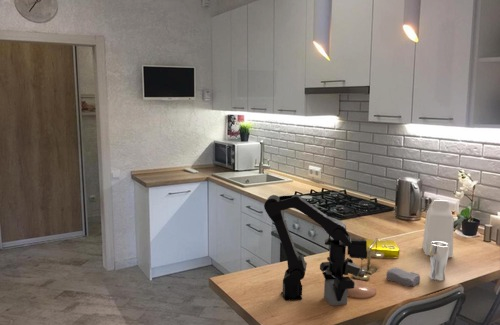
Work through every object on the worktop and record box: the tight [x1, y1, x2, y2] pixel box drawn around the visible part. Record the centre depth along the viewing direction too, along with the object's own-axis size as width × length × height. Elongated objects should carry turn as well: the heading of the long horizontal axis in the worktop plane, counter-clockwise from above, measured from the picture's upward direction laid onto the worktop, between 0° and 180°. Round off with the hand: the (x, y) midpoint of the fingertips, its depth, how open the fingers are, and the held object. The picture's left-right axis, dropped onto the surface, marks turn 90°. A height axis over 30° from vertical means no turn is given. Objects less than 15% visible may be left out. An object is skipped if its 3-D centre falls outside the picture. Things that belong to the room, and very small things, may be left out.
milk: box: [422, 199, 454, 258], centre depth 211 cm, size 12×12×26 cm
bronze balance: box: [351, 238, 384, 281], centre depth 188 cm, size 25×7×12 cm, turn 145°
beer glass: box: [428, 241, 449, 282], centre depth 181 cm, size 7×7×15 cm
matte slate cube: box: [323, 279, 348, 306], centre depth 160 cm, size 6×6×7 cm
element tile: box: [365, 238, 401, 258], centre depth 212 cm, size 15×15×5 cm
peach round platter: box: [347, 279, 377, 299], centre depth 170 cm, size 14×14×1 cm
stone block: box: [386, 267, 421, 288], centre depth 180 cm, size 12×5×10 cm
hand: (335, 296), depth 160 cm, fingers closed on matte slate cube, 6 cm apart
